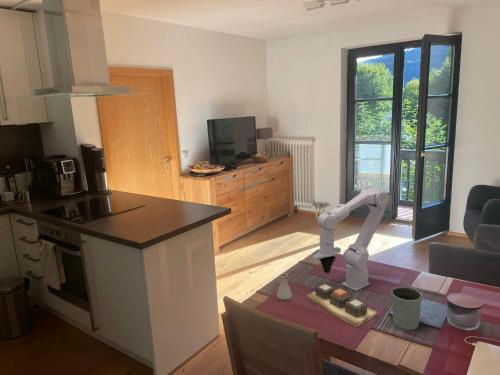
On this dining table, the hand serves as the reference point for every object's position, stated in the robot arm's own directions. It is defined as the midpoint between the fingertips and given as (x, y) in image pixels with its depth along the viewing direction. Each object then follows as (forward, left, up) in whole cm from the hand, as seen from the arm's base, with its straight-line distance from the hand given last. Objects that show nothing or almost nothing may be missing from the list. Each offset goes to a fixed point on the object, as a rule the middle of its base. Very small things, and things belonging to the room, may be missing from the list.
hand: (326, 272), depth 155 cm
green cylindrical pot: (-6, +33, -10) cm, 35 cm away
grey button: (+4, +19, -7) cm, 21 cm away
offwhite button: (+4, +3, -7) cm, 9 cm away
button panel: (+4, +11, -9) cm, 15 cm away
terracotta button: (+4, +11, -6) cm, 13 cm away
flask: (+16, -9, -10) cm, 21 cm away
